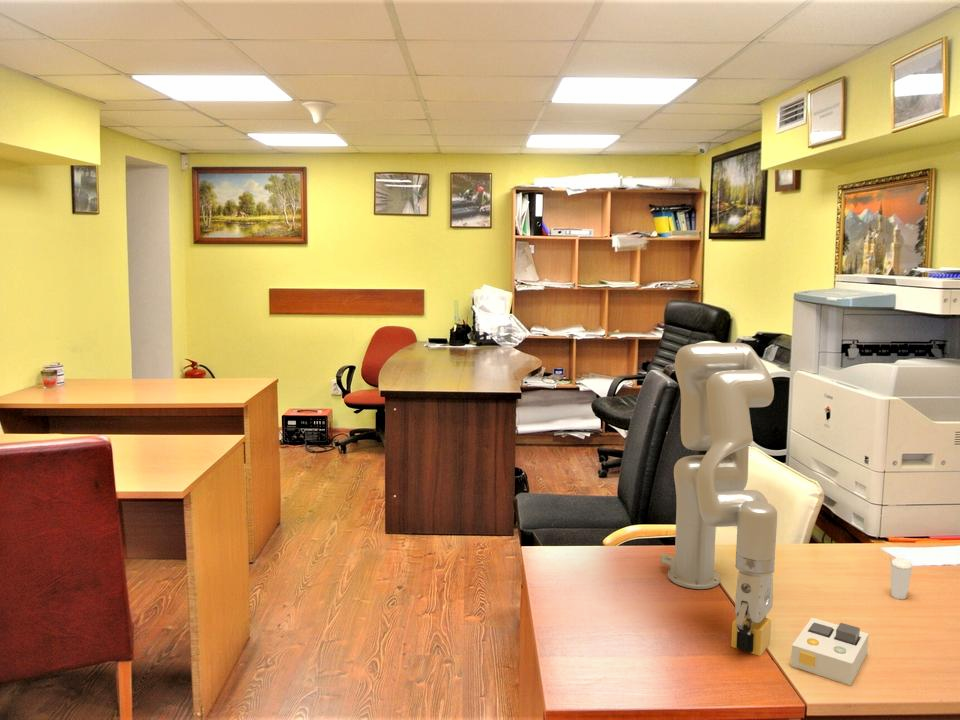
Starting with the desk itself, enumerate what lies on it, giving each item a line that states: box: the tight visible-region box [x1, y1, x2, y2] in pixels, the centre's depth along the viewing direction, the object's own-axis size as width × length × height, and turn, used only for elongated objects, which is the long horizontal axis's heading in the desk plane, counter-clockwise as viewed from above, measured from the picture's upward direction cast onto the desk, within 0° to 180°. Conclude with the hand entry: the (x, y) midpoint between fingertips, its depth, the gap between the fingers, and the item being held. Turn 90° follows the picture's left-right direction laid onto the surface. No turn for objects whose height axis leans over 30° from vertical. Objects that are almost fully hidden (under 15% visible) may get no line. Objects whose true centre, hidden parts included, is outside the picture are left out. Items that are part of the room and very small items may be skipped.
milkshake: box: [889, 556, 913, 600], centre depth 180 cm, size 5×5×10 cm
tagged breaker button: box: [809, 623, 833, 638], centre depth 157 cm, size 4×4×4 cm
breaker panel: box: [790, 617, 870, 687], centre depth 153 cm, size 11×14×5 cm
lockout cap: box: [730, 615, 772, 657], centre depth 159 cm, size 6×6×6 cm
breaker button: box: [835, 622, 861, 646], centre depth 153 cm, size 4×4×4 cm
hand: (750, 642), depth 159 cm, fingers open, 6 cm apart
